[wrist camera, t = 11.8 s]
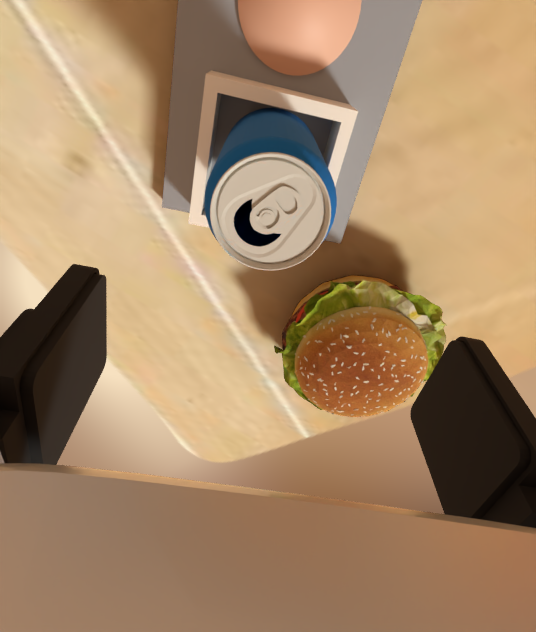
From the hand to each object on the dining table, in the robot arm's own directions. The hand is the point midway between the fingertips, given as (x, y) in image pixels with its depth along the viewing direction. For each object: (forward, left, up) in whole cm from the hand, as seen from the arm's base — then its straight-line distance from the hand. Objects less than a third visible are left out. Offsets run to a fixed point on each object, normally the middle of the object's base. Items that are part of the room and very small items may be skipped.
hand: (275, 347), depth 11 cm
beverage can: (0, 0, -22) cm, 22 cm away
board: (-4, 0, -23) cm, 23 cm away
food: (+13, +11, -23) cm, 29 cm away
